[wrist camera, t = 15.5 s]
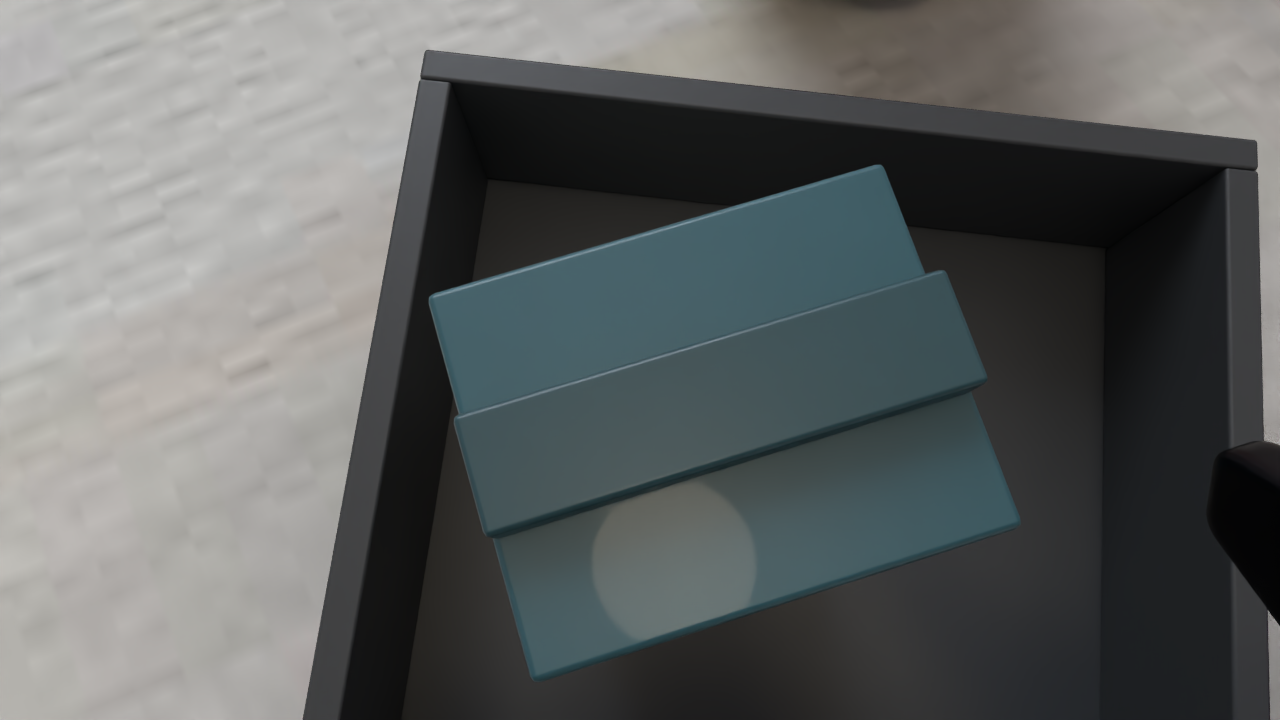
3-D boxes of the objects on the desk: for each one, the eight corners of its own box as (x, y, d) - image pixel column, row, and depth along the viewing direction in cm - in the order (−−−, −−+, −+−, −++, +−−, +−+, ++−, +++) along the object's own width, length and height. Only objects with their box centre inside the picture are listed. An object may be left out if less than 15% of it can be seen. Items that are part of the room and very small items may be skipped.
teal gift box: (820, 550, 20) (1055, 527, 9) (587, 624, 20) (521, 700, 8) (757, 367, 21) (900, 132, 10) (532, 435, 21) (407, 275, 9)
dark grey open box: (1110, 957, 19) (1280, 1096, 14) (354, 861, 19) (256, 963, 14) (1118, 235, 22) (1258, 138, 17) (471, 162, 22) (424, 48, 18)
